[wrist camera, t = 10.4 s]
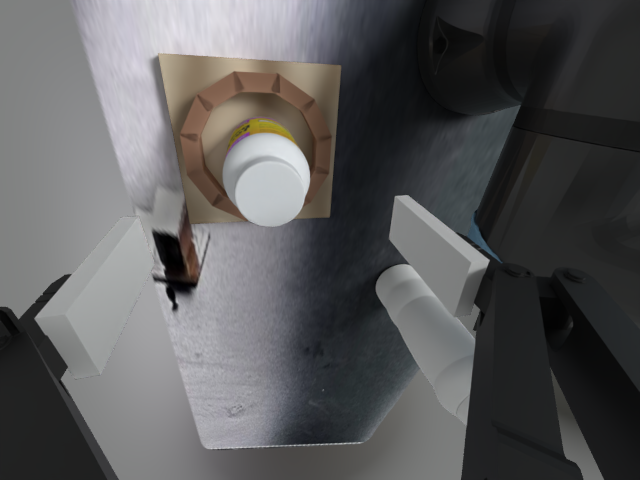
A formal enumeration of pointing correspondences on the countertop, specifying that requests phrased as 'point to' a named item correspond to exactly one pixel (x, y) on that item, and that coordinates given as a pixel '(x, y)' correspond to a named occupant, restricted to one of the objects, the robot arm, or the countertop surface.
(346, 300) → the countertop surface
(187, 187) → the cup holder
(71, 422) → the robot arm
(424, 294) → the water bottle
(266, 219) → the supplement bottle
